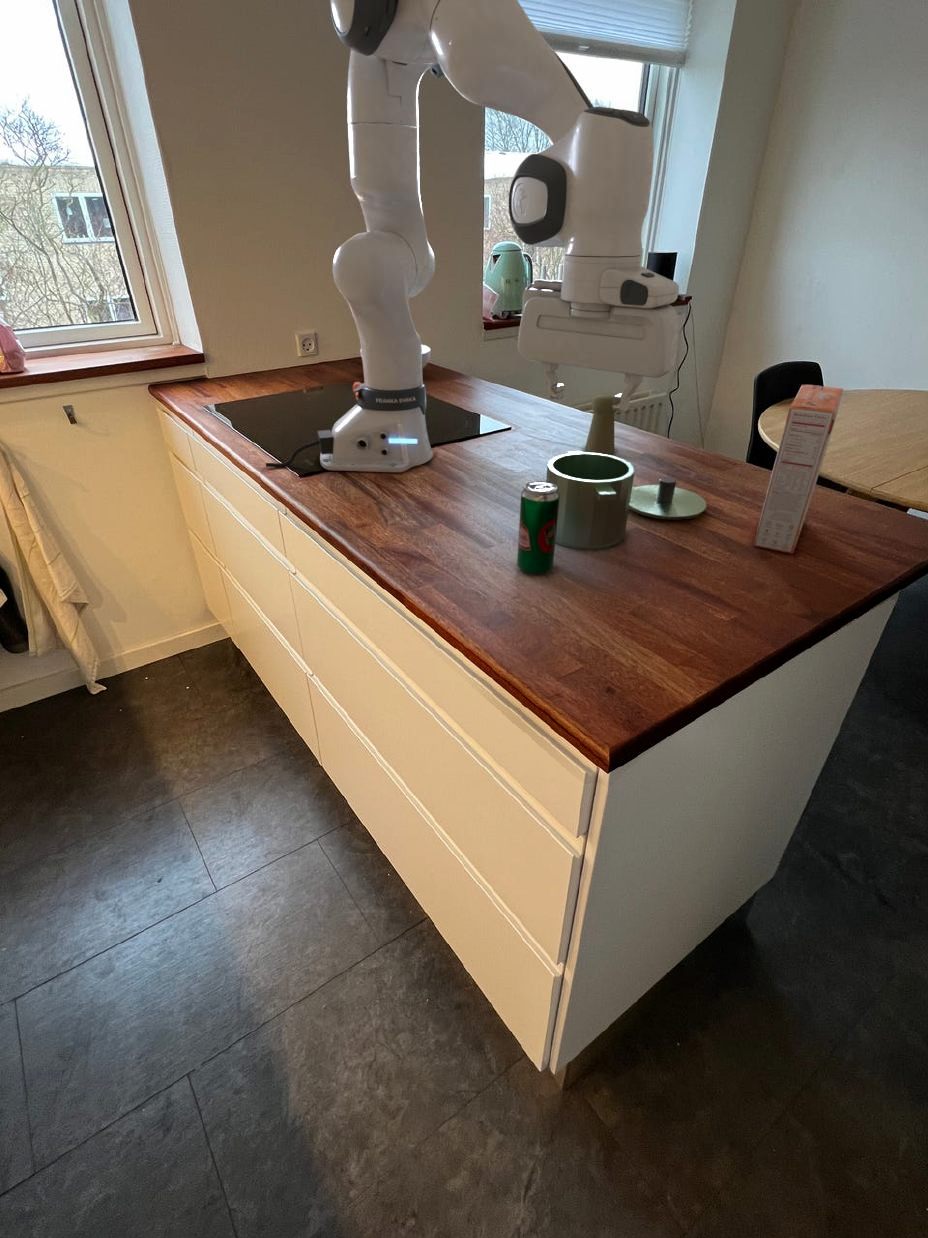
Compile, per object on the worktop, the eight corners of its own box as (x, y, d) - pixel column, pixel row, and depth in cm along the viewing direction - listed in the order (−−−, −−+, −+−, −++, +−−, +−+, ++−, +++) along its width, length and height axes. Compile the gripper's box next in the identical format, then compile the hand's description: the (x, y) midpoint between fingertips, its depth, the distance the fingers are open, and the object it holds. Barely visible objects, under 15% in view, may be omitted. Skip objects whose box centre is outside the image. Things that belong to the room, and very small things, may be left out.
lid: (638, 525, 101) (642, 497, 98) (611, 492, 112) (615, 467, 110) (719, 521, 102) (725, 493, 100) (685, 489, 114) (690, 464, 111)
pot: (557, 560, 91) (563, 491, 85) (532, 509, 106) (536, 448, 100) (641, 555, 92) (654, 487, 86) (605, 506, 107) (613, 445, 101)
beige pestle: (614, 455, 129) (621, 400, 123) (584, 453, 130) (590, 398, 124) (614, 446, 134) (621, 392, 128) (585, 444, 135) (591, 391, 129)
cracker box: (764, 513, 105) (801, 382, 93) (803, 521, 102) (847, 387, 91) (749, 546, 95) (788, 403, 83) (792, 556, 92) (839, 410, 81)
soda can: (514, 560, 91) (518, 480, 84) (549, 558, 91) (556, 479, 85) (520, 577, 87) (524, 494, 80) (556, 576, 87) (564, 493, 80)
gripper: (510, 280, 77) (506, 396, 85) (671, 291, 67) (650, 423, 74) (537, 276, 81) (531, 387, 89) (693, 286, 71) (671, 411, 79)
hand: (586, 404), depth 82 cm, fingers open, 8 cm apart
